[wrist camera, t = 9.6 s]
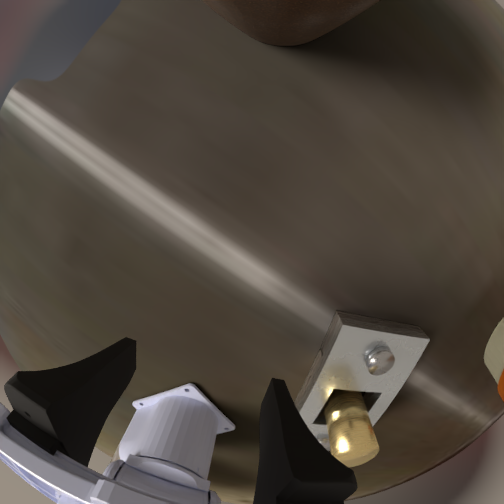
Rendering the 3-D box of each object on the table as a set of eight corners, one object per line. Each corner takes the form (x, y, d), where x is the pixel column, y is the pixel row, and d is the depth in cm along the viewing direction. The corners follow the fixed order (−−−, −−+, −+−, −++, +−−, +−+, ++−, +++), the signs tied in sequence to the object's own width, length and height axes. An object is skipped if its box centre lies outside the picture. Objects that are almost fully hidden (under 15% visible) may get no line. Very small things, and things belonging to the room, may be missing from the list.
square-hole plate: (347, 438, 26) (351, 458, 23) (277, 433, 26) (277, 455, 23) (418, 326, 22) (434, 344, 18) (336, 310, 22) (345, 331, 18)
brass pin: (330, 412, 25) (341, 471, 17) (315, 392, 24) (325, 456, 16) (364, 397, 24) (383, 454, 16) (352, 375, 23) (372, 437, 16)
